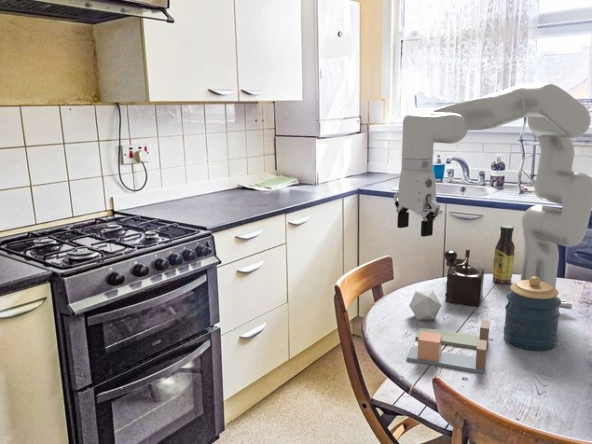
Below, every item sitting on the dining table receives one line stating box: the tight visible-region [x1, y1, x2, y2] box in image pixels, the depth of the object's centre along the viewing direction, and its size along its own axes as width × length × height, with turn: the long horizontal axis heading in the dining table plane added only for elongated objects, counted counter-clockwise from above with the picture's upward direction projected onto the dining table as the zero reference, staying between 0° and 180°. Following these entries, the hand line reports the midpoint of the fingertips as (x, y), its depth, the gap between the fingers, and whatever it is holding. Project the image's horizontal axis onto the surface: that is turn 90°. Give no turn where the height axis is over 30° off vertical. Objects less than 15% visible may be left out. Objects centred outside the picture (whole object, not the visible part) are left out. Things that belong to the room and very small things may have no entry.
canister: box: [503, 276, 562, 351], centre depth 135 cm, size 13×13×18 cm
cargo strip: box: [406, 339, 488, 374], centre depth 127 cm, size 18×6×6 cm, turn 67°
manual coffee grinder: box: [443, 249, 485, 308], centre depth 161 cm, size 16×11×18 cm
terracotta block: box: [417, 331, 443, 362], centre depth 128 cm, size 5×5×5 cm
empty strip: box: [415, 319, 491, 352], centre depth 137 cm, size 18×6×6 cm, turn 67°
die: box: [408, 290, 442, 321], centre depth 151 cm, size 8×9×10 cm
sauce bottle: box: [492, 224, 516, 285], centre depth 177 cm, size 7×6×20 cm
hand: (414, 231), depth 133 cm, fingers open, 9 cm apart
